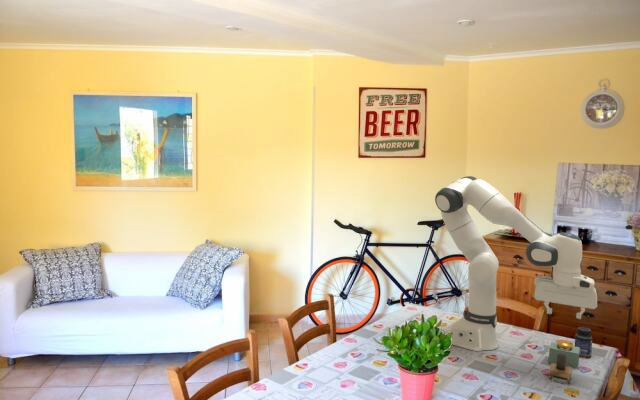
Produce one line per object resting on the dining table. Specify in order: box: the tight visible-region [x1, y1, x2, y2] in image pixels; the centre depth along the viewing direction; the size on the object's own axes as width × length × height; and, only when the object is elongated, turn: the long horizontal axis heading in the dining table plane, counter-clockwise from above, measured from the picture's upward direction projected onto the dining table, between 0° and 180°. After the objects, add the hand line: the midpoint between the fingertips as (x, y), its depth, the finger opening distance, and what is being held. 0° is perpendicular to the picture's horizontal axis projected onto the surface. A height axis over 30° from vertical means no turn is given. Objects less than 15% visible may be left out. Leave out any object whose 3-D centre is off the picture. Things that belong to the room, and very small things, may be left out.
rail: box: [550, 362, 570, 386], centre depth 178 cm, size 5×15×2 cm, turn 149°
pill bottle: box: [574, 326, 593, 359], centre depth 194 cm, size 6×6×11 cm
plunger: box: [556, 339, 574, 351], centre depth 188 cm, size 6×6×6 cm
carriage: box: [548, 353, 573, 384], centre depth 175 cm, size 7×6×8 cm
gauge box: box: [548, 341, 580, 370], centre depth 188 cm, size 10×7×6 cm
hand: (563, 315), depth 173 cm, fingers open, 8 cm apart
